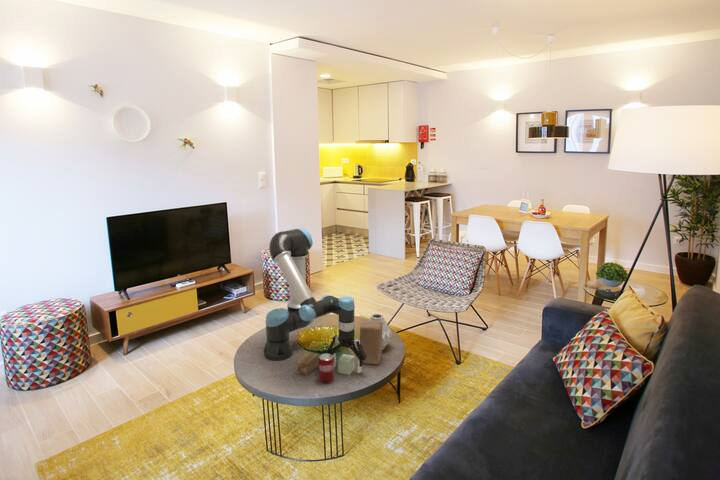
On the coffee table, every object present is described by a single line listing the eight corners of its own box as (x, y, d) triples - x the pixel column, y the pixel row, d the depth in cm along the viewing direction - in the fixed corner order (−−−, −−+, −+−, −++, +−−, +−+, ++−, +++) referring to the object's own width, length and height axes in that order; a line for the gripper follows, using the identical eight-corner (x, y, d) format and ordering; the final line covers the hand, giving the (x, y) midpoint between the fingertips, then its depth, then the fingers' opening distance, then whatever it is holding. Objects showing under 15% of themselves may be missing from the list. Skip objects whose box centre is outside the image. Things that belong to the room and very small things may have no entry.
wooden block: (378, 365, 233) (379, 328, 228) (359, 363, 235) (359, 326, 230) (381, 356, 242) (382, 320, 238) (363, 354, 244) (363, 319, 240)
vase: (359, 353, 245) (359, 320, 241) (364, 340, 261) (364, 309, 257) (390, 356, 243) (390, 323, 238) (393, 342, 258) (393, 311, 254)
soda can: (318, 376, 222) (318, 353, 219) (333, 376, 222) (333, 353, 220) (318, 384, 215) (318, 360, 212) (334, 384, 215) (334, 360, 213)
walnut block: (297, 373, 224) (297, 362, 223) (309, 362, 235) (309, 352, 234) (306, 376, 222) (306, 364, 221) (318, 364, 233) (318, 353, 232)
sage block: (338, 372, 226) (338, 359, 224) (343, 366, 231) (343, 353, 230) (349, 374, 224) (349, 361, 222) (354, 369, 229) (354, 356, 228)
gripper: (319, 327, 224) (320, 367, 228) (367, 336, 215) (367, 377, 219) (326, 321, 231) (327, 361, 235) (373, 330, 221) (373, 370, 226)
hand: (346, 369), depth 227 cm, fingers open, 13 cm apart
